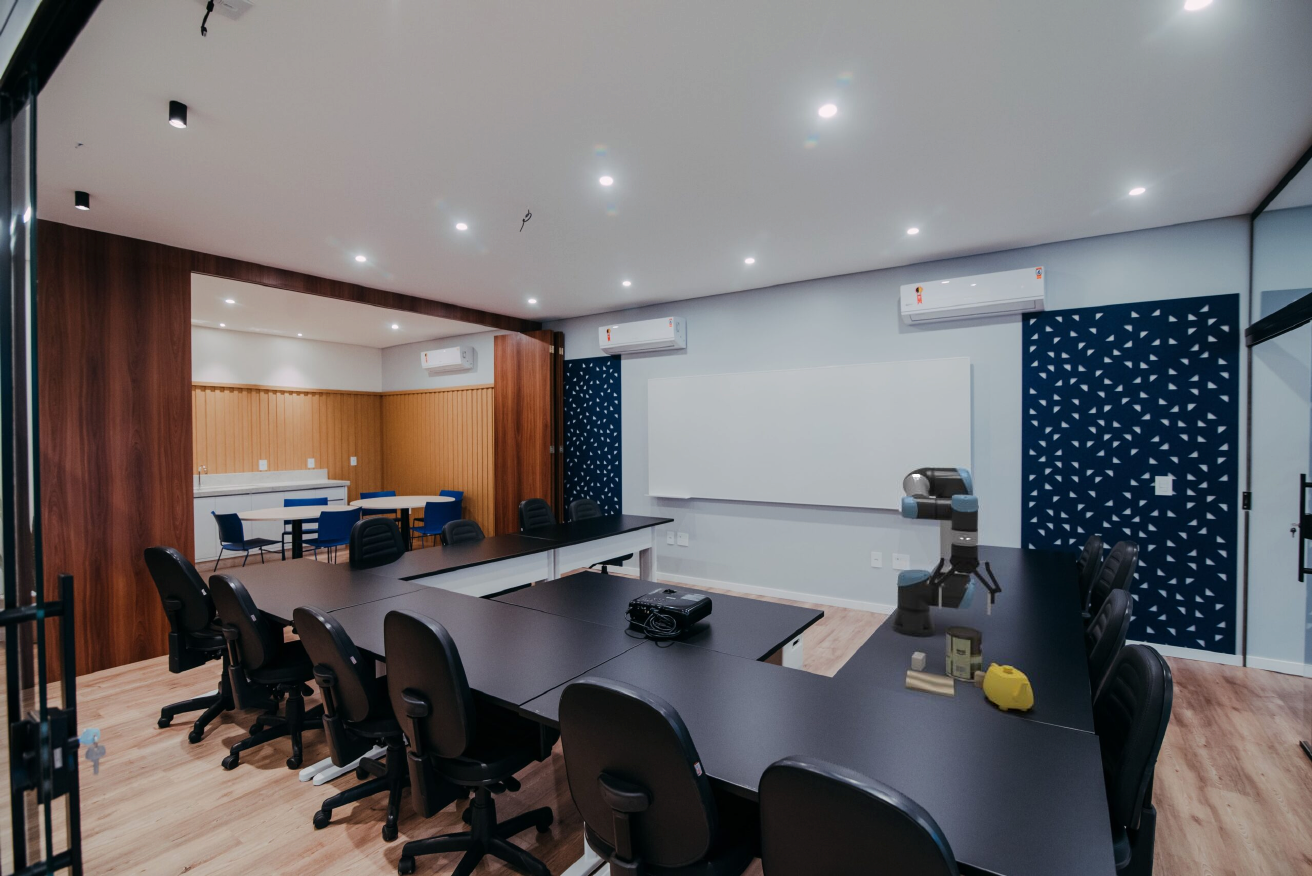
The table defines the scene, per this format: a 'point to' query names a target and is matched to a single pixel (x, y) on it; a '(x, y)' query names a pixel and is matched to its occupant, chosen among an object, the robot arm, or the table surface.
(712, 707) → the table surface
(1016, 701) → the teapot
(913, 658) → the off-white brick
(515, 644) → the table surface
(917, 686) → the trivet
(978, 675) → the beech brick
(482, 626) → the table surface
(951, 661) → the coffee can
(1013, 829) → the table surface
